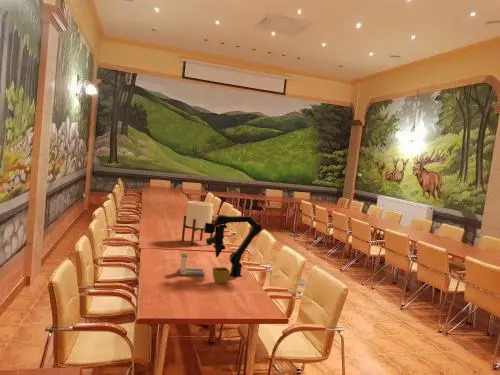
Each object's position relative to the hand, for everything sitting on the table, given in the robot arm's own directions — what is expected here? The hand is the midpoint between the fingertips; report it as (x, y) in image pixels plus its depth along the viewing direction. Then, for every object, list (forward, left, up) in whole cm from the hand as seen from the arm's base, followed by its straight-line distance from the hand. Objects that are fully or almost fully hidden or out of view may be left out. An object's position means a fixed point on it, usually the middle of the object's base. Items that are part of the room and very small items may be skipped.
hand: (216, 257), depth 282 cm
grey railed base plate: (+8, +14, -12) cm, 20 cm away
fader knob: (+11, +19, -10) cm, 24 cm away
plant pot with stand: (+85, -47, -12) cm, 98 cm away
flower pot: (-16, +9, -12) cm, 22 cm away
